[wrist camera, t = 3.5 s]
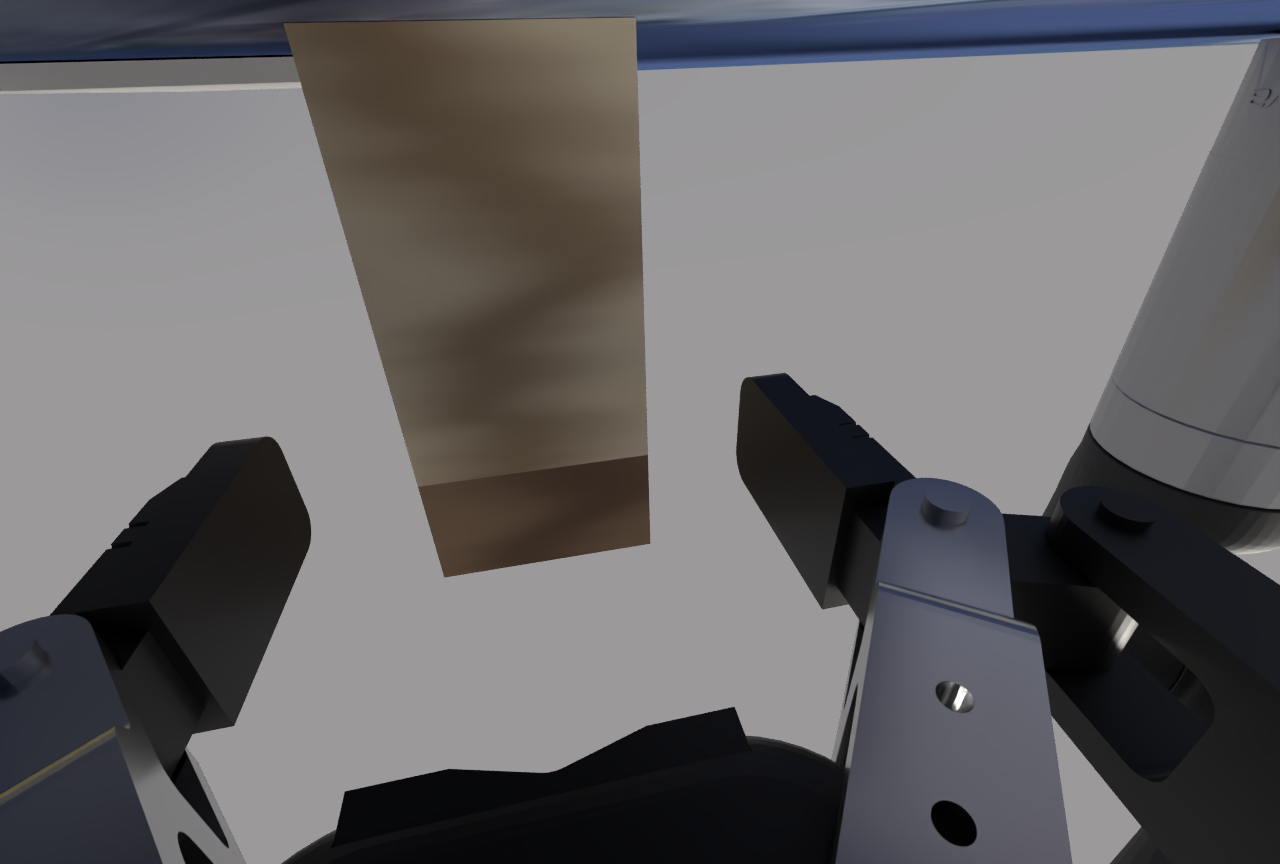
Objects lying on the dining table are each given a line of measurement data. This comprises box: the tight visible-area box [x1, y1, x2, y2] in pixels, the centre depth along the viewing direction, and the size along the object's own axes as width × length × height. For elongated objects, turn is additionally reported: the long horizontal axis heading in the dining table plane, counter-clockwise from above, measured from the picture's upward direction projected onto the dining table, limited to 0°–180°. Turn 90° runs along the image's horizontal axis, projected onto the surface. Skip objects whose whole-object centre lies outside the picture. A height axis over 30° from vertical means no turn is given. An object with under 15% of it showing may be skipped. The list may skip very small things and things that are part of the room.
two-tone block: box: [283, 17, 650, 577], centre depth 15 cm, size 6×6×12 cm
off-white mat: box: [0, 57, 302, 94], centre depth 22 cm, size 16×16×1 cm
